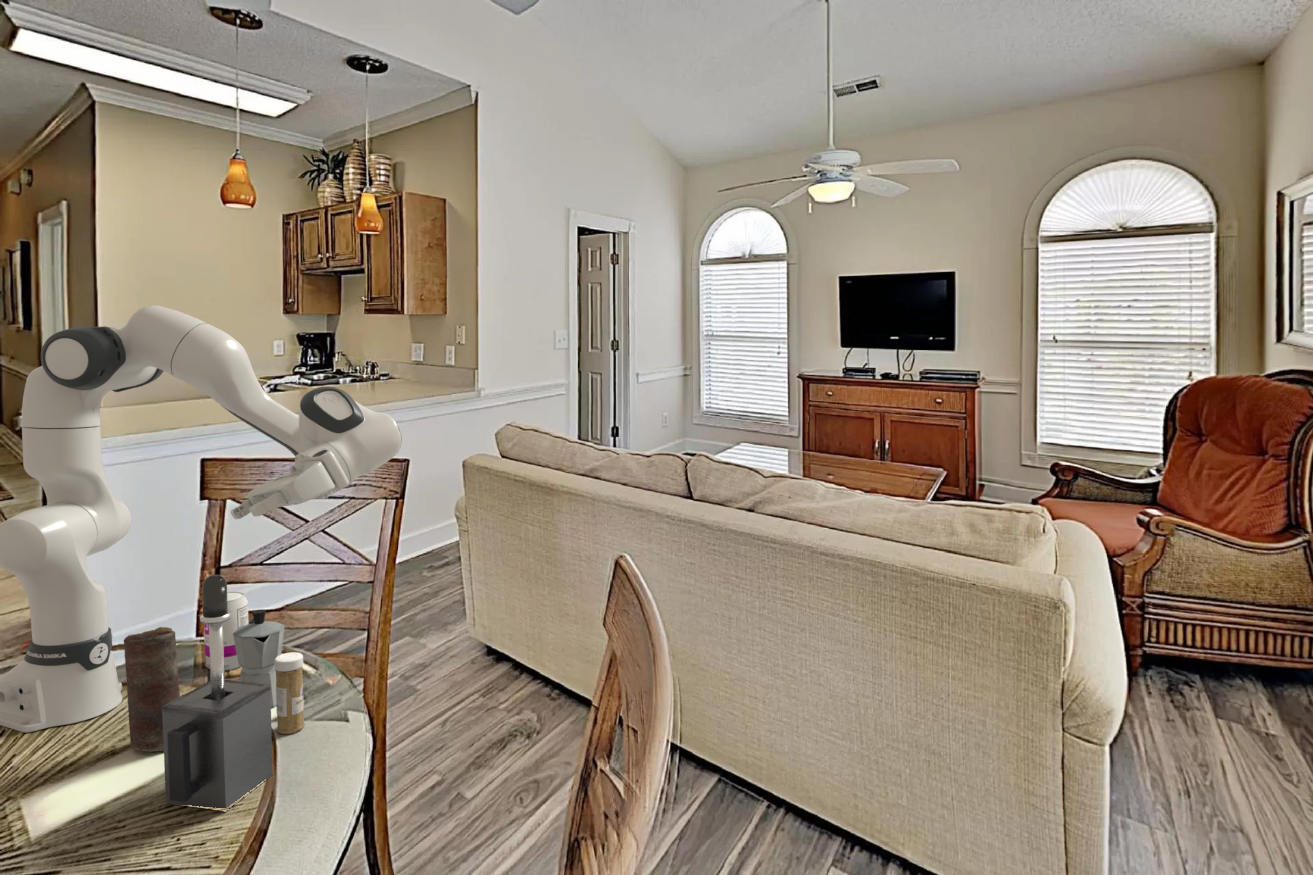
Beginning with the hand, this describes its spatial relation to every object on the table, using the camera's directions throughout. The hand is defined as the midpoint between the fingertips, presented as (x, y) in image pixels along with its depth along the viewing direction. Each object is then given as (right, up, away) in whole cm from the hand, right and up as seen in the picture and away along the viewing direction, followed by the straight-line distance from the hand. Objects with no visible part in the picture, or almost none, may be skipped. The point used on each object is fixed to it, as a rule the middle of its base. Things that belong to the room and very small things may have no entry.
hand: (242, 514), depth 119 cm
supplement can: (-26, -37, +40) cm, 60 cm away
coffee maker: (-10, -39, +25) cm, 47 cm away
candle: (-18, -40, +7) cm, 45 cm away
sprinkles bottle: (+1, -40, +14) cm, 42 cm away
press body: (-1, -42, -7) cm, 42 cm away
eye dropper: (0, -30, -6) cm, 31 cm away
